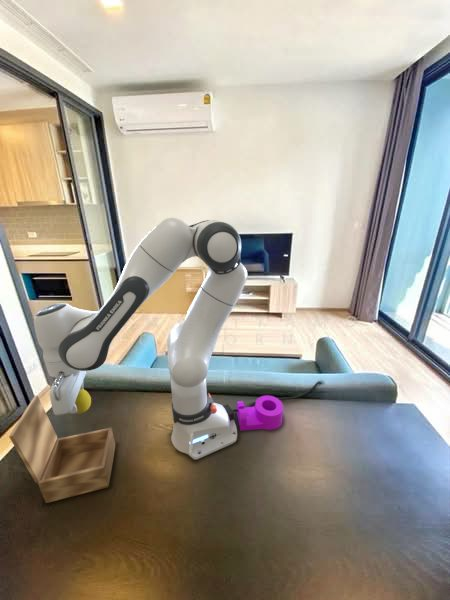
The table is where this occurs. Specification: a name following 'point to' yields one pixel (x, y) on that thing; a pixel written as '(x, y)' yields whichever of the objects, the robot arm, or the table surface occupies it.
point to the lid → (34, 438)
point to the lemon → (83, 401)
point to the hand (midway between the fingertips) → (77, 402)
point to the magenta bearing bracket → (260, 414)
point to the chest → (78, 465)
